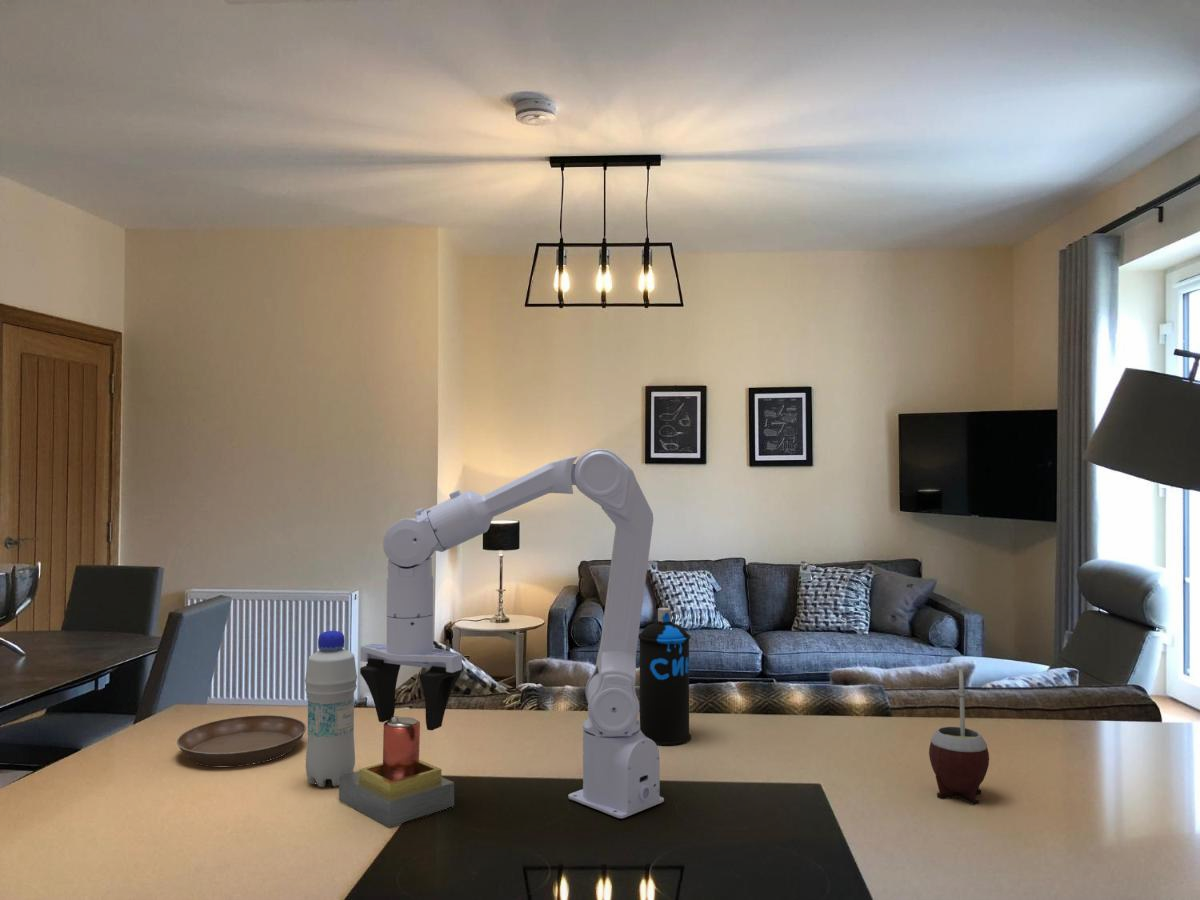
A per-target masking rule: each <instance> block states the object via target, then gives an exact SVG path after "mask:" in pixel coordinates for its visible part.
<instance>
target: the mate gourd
mask: <svg viewBox="0 0 1200 900" xmlns="http://www.w3.org/2000/svg"><path fill="white" fill-rule="evenodd" d="M964 678H965V677H964V669H963V668H958V684H959V688H958V689H957V690H958V691H957V692H958V697H959V718H960V719H959V723H960V724H959V725H960V726H959V727H958V726H945V727H944V726H943V727H939V728H938V729H936V731H935V732H934V733H933V736H932V737H931V739H930V743H929V744H930V745H929V749H928V756H929V762H930V764H931V765H930V766H931V768H932V771H933V773H934V775H935V779H936V784H937V787H938V792H936V796H937V798H938V799H939V800H944V799H952V798H959V799H962V800H963V801H965V802H968V803H969V804H970V805H973V806H974V805H978V804H979V803H978V802H979V800H978V799H976V796H977V795H978V796H979V795H982V789H980V785H981V784H982V783H983V781H984V779H985V778H986V775H987V772H988V769H989V765H990V754H989V750H988V749H989V748H988V744H987V743H986V740H985V739H984V737H983V736H982V734H980V733H979V732H978V731H976V730H973V729H972V728H971V729H970V728H967V727H966V720H965V719H966V715H965V712H966V711H965V698H966V689H965V680H964Z"/></svg>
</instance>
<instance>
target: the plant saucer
mask: <svg viewBox="0 0 1200 900" xmlns="http://www.w3.org/2000/svg"><path fill="white" fill-rule="evenodd" d="M306 730H307V725H306V723H304V722H303V721H302V720H300V719H297V718H294V717H290V716H284V715H283V716H282V715H267V714H266V715H265V714H264V715H246V716H238V717H237V716H236V717H230V718H224V719H220V720H219V719H218V720H215V721H210V722H207V723H204V724H201V725H198V726H195V727H193V728H191V729H189V730H186V731H185V732H183V733H182V734H181V735H179V736H178V738H177V740H176V745H177V746H178V748H179V749H180V751H181V752H182V753H183V754H184V755H185V756H186V757H187V758H188V759H189V760H191V761H192V763H195V764H197V763H198V765H200V764H202V765H201V766H204V765H208V766H207V767H211V766H235V767H240V766H239V765H245V766H248V765H247V764H251V765H254V764H253V763H257V764H259V763H258V762H261V763H264V762H263V761H266V762H268V761H267V760H269V761H271V760H270V759H273V758H275V759H277V758H276V757H278V758H280V757H279V756H281V755H283V754H285V753H287V752H288V753H289V752H291V751H290V750H292V751H293V749H294V748H295V747H296V746H297V744H298V743H299V742H300V741H301V739H302V738H303V736H304V734H305V732H306ZM288 753H287V754H288ZM285 755H286V754H285ZM283 756H284V755H283ZM281 757H282V756H281ZM273 760H274V759H273Z"/></svg>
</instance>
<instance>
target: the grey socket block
mask: <svg viewBox="0 0 1200 900" xmlns="http://www.w3.org/2000/svg"><path fill="white" fill-rule="evenodd" d="M442 771H443V769H442V768H441V767H437V766H436V765H433V764H430V763H428V762H427V761H426V762H425V761H424V760H421V759H419V774H416V775H412V776H409V777H406V778H402V779H399V780H395V781H390V780H388V779H386V778H384V777H382V776H383V762H380V763H377V764H376V763H375V764H373V765H369V766H366V767H362V768H359V770H357V771H353V773H349V774H346V775H342V776H339V784H338V800H340V802H341V801H342V802H341V803H343V804H345V805H347V806H348V807H350V808H352V809H354V810H355V811H358V812H360V813H361V814H363V815H364V816H366V817H369V818H370V819H372V820H374V821H376V822H378V823H379V824H381V825H383V826H384V827H387V828H388V829H391V828H394V827H397V826H401V825H403V824H402V823H404V822H406V821H408V820H410V819H413V818H417V817H420V816H424V815H427V814H430V813H433V812H437V811H440V810H443V809H446V810H448V809H447V808H449V807H452V808H454V807H455V782H454V781H452V780H450V779H447V778H445V777H442V775H443V774H442ZM453 806H454V807H453ZM449 809H450V808H449ZM443 811H444V810H443ZM440 812H441V811H440ZM437 813H438V812H437ZM404 824H405V823H404Z"/></svg>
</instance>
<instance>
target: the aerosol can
mask: <svg viewBox="0 0 1200 900" xmlns="http://www.w3.org/2000/svg"><path fill="white" fill-rule="evenodd" d="M691 637H692V636H691V635H690V634H689V633H688V632H687V630H686V629H685V628H684V627H683V626H681V625H679V624H677V623H674V622H672V621H671V608H669V607H659V608H657V621H656V622H654V623H652V624H648V625H647V626H646V627H645V628H643V629H642V630H641V632H639V635H638V640H639V708H640V710H639V723H640V730H641V731H642V733H643V734H644V735H645V736H646V737H647V738H649V739H651V740H653V741H654V742H655V743H656V745H657V746H663V747H665V746H666V747H668V746H669V747H671V746H678V745H683V744H686V743H688V742H689V741H690V740H691V738H692V736H691V733H690V640H691Z"/></svg>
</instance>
